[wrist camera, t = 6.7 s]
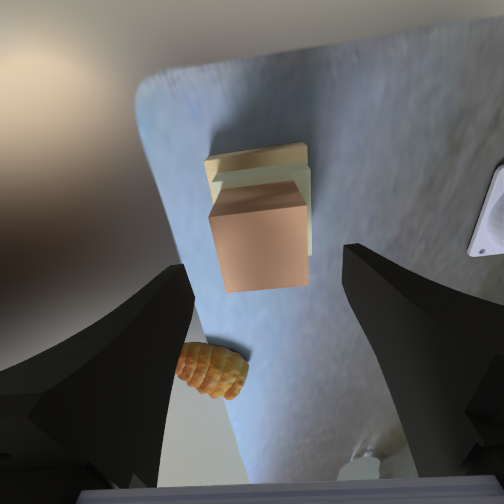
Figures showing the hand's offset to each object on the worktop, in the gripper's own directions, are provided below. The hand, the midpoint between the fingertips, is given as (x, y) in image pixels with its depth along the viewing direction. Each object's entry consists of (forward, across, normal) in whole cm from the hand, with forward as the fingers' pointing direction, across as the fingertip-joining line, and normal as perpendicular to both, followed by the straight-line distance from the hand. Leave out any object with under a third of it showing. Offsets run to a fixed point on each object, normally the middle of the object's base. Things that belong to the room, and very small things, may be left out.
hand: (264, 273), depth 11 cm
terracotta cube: (+6, 0, 0) cm, 6 cm away
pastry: (+11, +9, +20) cm, 25 cm away
